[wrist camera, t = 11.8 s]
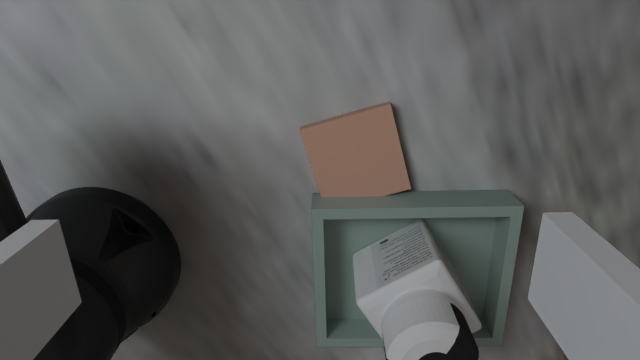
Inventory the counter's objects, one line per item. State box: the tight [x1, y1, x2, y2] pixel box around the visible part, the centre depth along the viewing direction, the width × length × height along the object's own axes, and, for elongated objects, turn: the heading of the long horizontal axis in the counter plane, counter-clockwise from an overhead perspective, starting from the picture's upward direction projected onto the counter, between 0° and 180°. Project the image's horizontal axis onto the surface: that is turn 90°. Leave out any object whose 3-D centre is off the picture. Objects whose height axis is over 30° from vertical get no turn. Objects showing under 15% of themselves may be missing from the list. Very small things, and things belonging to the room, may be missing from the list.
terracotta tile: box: [300, 102, 411, 197], centre depth 38 cm, size 8×8×1 cm
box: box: [311, 190, 524, 347], centre depth 41 cm, size 18×15×4 cm
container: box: [353, 219, 482, 360], centre depth 36 cm, size 8×8×13 cm
